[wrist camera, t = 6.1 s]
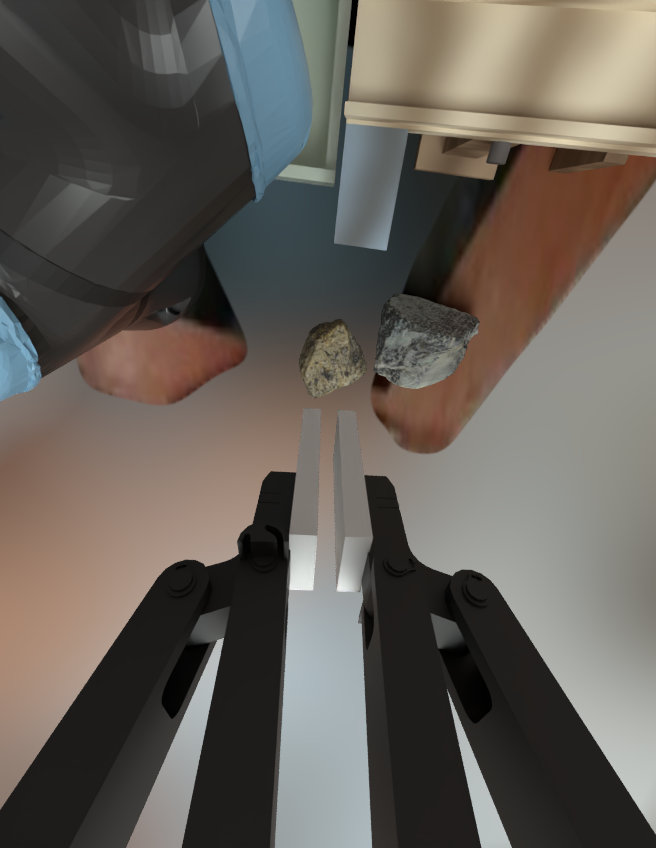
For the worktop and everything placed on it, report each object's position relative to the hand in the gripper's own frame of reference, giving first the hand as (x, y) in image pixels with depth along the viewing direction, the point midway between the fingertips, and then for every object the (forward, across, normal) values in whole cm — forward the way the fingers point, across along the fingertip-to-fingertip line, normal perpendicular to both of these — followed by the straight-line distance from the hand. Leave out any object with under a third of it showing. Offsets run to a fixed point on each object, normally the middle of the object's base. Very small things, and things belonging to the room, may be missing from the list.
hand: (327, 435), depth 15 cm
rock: (+25, +1, -6) cm, 25 cm away
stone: (+25, +10, -2) cm, 26 cm away
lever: (+16, +11, +13) cm, 23 cm away
